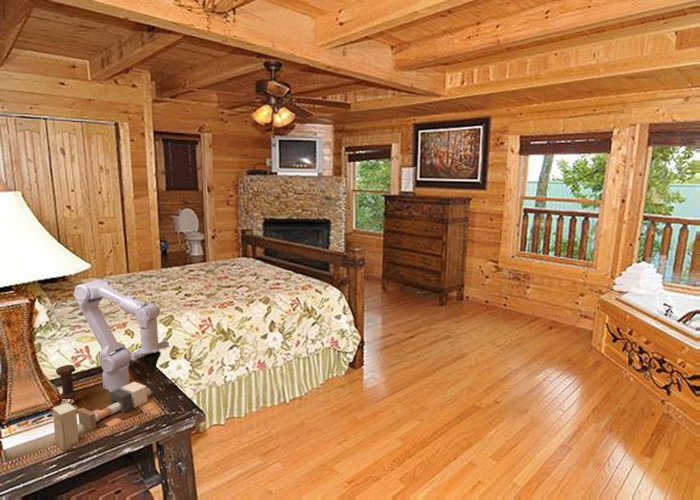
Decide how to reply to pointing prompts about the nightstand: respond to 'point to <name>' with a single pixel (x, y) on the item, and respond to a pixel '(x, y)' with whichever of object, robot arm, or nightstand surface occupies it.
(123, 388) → the sleeve
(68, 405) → the skincare box
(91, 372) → the nightstand surface
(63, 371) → the bolt
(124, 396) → the dark grey block
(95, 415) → the pipe clamp
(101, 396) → the nightstand surface
